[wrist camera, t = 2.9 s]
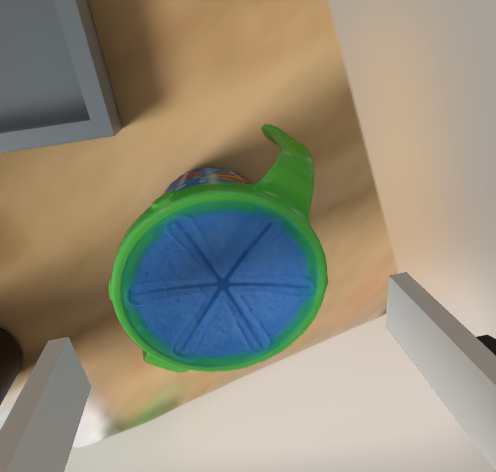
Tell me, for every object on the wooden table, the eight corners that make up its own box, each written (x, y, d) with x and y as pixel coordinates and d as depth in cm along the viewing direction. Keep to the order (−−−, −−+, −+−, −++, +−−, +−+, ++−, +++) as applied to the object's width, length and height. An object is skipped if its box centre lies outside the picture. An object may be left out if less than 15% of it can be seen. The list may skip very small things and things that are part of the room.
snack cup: (205, 318, 30) (214, 427, 21) (89, 256, 26) (37, 358, 17) (330, 175, 26) (408, 231, 17) (218, 76, 22) (242, 81, 13)
